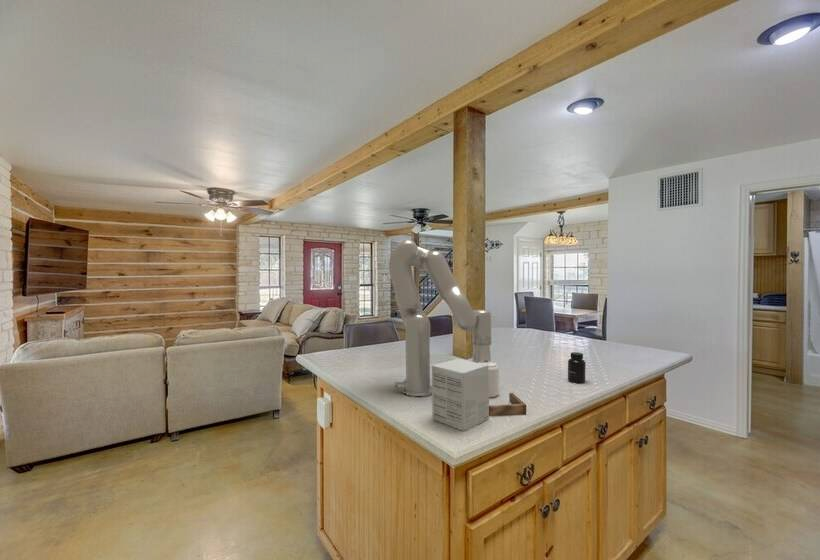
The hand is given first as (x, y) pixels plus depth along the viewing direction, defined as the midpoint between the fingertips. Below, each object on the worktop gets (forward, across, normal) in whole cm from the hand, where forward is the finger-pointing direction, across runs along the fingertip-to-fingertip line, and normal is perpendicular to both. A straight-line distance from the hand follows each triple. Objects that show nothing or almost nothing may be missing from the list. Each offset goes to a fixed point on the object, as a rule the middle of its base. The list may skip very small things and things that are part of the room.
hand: (482, 385), depth 146 cm
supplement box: (+1, +29, -16) cm, 33 cm away
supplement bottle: (+1, -3, +42) cm, 42 cm away
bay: (+1, +21, 0) cm, 21 cm away
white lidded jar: (+1, +7, 0) cm, 7 cm away
